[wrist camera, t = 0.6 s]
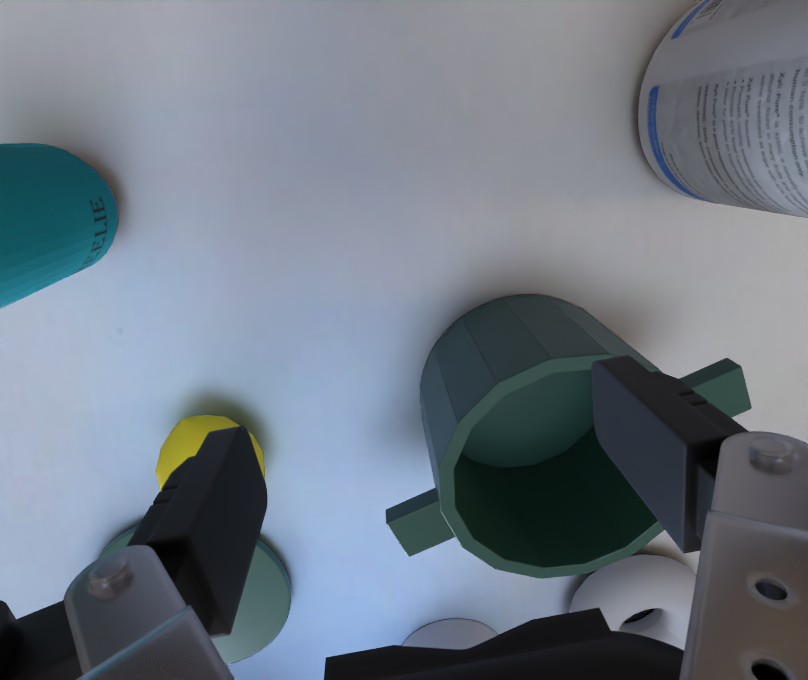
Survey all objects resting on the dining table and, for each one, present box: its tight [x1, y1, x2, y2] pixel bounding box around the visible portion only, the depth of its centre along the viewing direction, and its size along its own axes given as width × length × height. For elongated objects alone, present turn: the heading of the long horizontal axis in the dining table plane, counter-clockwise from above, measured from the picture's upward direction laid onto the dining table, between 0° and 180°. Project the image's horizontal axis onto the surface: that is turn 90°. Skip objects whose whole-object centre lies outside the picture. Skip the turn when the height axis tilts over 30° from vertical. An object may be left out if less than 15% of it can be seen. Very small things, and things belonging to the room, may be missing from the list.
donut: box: [569, 555, 697, 650], centre depth 36 cm, size 10×3×10 cm
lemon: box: [156, 415, 265, 492], centre depth 28 cm, size 7×5×5 cm
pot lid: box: [98, 526, 291, 665], centre depth 31 cm, size 13×13×6 cm
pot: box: [386, 294, 752, 578], centre depth 27 cm, size 12×17×8 cm
